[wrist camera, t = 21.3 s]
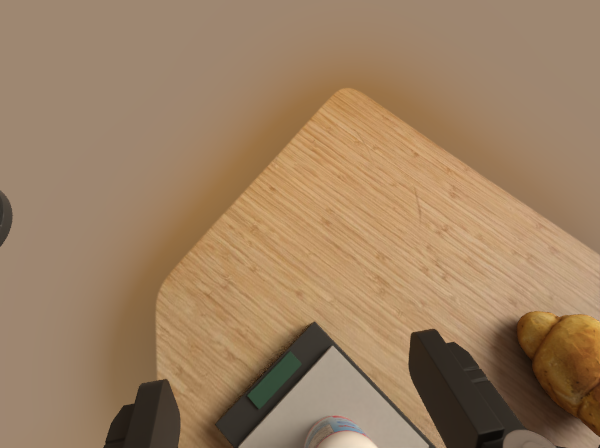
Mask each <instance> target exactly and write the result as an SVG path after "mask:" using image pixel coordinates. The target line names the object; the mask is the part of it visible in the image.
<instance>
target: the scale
mask: <svg viewBox="0 0 600 448" xmlns="http://www.w3.org/2000/svg"><path fill="white" fill-rule="evenodd" d="M331 415H340V416H344V417H346V418H349V419H350V420H352V421H353V422H354V423H356V424H357V425H358V426H359V427H360V428H361V429H362V430H363V432H364V433H365V434H366V435H367V436H368V437H369V438H370V439H371V440H372V441H373V443H374V444H375V445H376V446H377V447H378V448H436V447H435V446H434V445H433V444H432V443H431V442H430V440H429V439H428V438H427V437H426V436H425V435H424V434H423V433H422V432H421V431H420V430H419V429H418V428H417V427H416V426H415V425H414V424H413V423H412V422H411V421H410V420H409V419H408V418H407V417H406V416H405V415H404V414H403V412H402V411H401V410H400V409H399V408H398V407H397V406H396V405H395V404H394V403H393V402H392V401H391V400H390V399H389V398H388V397H387V396H386V395H385V394H384V393H383V392H382V391H381V390H380V389H379V388H378V387H377V385H376V384H375V383H374V382H373V381H372V380H371V379H370V378H369V377H368V376H367V375H366V374H365V373H364V372H363V371H362V370H361V369H360V368H359V367H358V366H357V365H356V364H355V363H354V362H353V361H352V360H351V358H350V357H349V356H348V355H347V354H346V353H345V352H344V351H343V350H342V349H341V348H340V347H339V346H338V345H337V344H336V343H335V342H334V341H333V340H332V339H331V338H330V337H329V336H328V335H327V334H326V333H325V332H324V330H323V329H322V328H321V327H320V326H319V325H318V324H317V323H316V322H313V323H312V324H311V325H310V326H309V327H308V328H307V329H306V330H305V331H304V332H303V333H302V334H301V335H300V336H299V337H298V338H297V339H296V340H295V342H294V343H293V344H292V345H291V346H290V347H289V348H288V349H287V350H286V351H285V352H284V353H283V354H282V355H281V356H280V357H279V358H278V359H277V360H276V361H275V362H274V363H273V364H272V365H271V366H270V367H269V368H268V369H267V370H266V371H265V373H264V374H263V375H262V376H261V377H260V378H259V379H258V380H257V381H256V382H255V383H254V384H253V385H252V386H251V387H250V388H249V389H248V390H247V391H246V392H245V393H244V394H243V395H242V396H241V397H240V398H239V399H238V400H237V401H236V403H235V404H234V405H233V406H232V407H231V408H230V409H229V410H228V411H227V412H226V413H225V414H224V415H223V416H222V417H221V418H220V419H219V420H218V421H217V423H216V424H215V425H216V426H217V428H218V429H219V430H220V431H221V432H222V434H223V435H224V436H225V437H226V438H227V440H228V441H229V442H230V443H231V444H232V446H233V447H234V448H304V444H305V440H306V437H307V435H308V433H309V431H310V430H311V428H312V427H313V426H314V425H315V424H316V423H317V422H318V421H319V420H320V419H322V418H324V417H327V416H331Z"/></svg>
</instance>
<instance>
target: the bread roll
mask: <svg viewBox="0 0 600 448" xmlns="http://www.w3.org/2000/svg"><path fill="white" fill-rule="evenodd" d="M517 337H518V341H519V344H520V346H521V348H522V349H523V350H524V352H525V353H526V355H527V356H528V357H529V358H530V359H531V360H532V363H533V364H532V370H533V372H534V374H535V376H536V378H537V379H538V381H539V383H540V385H541V386H542V388H543V389H544V390H545V392H546V393H547V394H548V395H549V396H550V397H551V398H552V399H553V400H554V401H555V402H556V403H557V404H558V405H559V406H560V407H561V408H563V409H564V410H565V411H567V412H568V413H570V414H572V415H574V416H575V417H577V418H579V419H580V420H581V421H582V422H583V423H584V424H585V425H586V426H588V427H589V428H590V429H591V430H592V431H593V432H594V433H595V434H596V435H598V436H599V437H600V322H599V321H598V320H596V319H594V318H592V317H590V316H588V315H582V314H578V315H569V316H568V315H564V316H562V317H558V316H555V315H554V314H552V313H549V312H547V313H546V312H539V311H534V312H529V313H527V314H525V315H524V316H522V317H521V318H520V320H519V322H518V324H517Z"/></svg>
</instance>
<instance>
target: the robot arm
mask: <svg viewBox="0 0 600 448" xmlns="http://www.w3.org/2000/svg"><path fill="white" fill-rule="evenodd" d="M409 372H410V376H411V379H412V381H413V384H414V386H415V388H416V389H417V391H418V393H419V395H420V397H421V399H422V401H423V403H424V405H425V407H426V409H427V411H428V413H429V415H430V416H431V418H432V420H433V422H434V424H435V426H436V428H437V430H438V432H439V434H440V436H441V438H442V440H443V442H444V443H445V445H446V447H447V448H564V447H558V446H555V445H554V444H552V443H551V442H550V441H549V440H547V439H546V438H545V437H543V436H541V435H539V434H537V433H535V432H532V431H528V430H527V429H526V428H525V427H524V426H523V425H522V423H521V422H520V421H519V420H518V418H517V417H516V415H515V414H514V413H513V411H512V410H511V409H510V407H509V406H508V405H507V403H506V402H505V401H504V399H503V398H502V397H501V395H500V394H499V393H498V391H497V390H496V389H495V387H494V386H493V385H492V383H491V382H490V381H488V379H487V377H486V375H485V374H484V373H483V371H482V370H481V369H479V366H478V364H477V363H476V362H475V360H474V359H473V358H472V356H471V355H470V354H469V352H467V351H466V350H464V349H463V348H462V347H460V346H459V345H458V344H456V343H455V342H451V343H445V341H444V340H443V338H442V337H441V335H440V334H439V333H438V331H437V330H435V329H429V330H423V331H418V332H413V333H412V334H411V339H410V351H409ZM179 435H180V413H179V409H178V406H177V403H176V400H175V398H174V395H173V392H172V389H171V387H170V384H169V381H168V380H167V379H163V380H158V381H153V382H147V383H142V384H141V385H140V386H139V389H138V393H137V396H136V400H135V403H134V404H130V405H124V406H123V407H122V409H121V410H120V411H119V413H118V414H117V416H116V417H115V418H114V420H113V422H112V423H111V425H110V429H109V432H108V435H107V438H106V441H105V442H106V444H105V445H104V448H178V443H179ZM598 448H600V445H599V447H598Z"/></svg>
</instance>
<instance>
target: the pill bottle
mask: <svg viewBox="0 0 600 448" xmlns="http://www.w3.org/2000/svg"><path fill="white" fill-rule="evenodd" d="M304 448H378V447H377V446H376V445H375V444H374V443H373V441H372V440H371V439H370V438H369V437H368V436H367V435H366V434H365V433H364V432H363V430H362V429H361V428H360V427H359V426H358V425H357V424H356V423H354V422H353V421H352V420H350V419H349V418H346V417H344V416H340V415H331V416H327V417H324V418H322V419H320V420H319V421H318V422H317V423H316V424H315V425H314V426H313V427H312V428H311V430H310V431H309V433H308V435H307V437H306V440H305V444H304Z"/></svg>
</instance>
